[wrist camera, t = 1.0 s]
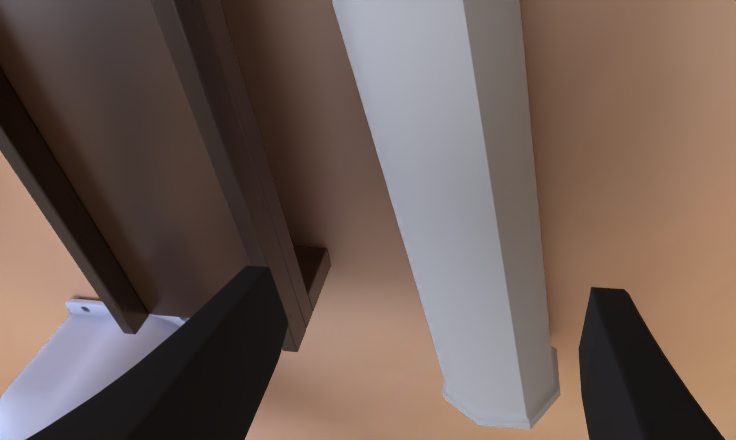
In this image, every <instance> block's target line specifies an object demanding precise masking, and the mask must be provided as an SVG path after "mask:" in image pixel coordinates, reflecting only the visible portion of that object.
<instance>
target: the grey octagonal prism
mask: <svg viewBox="0 0 736 440" xmlns="http://www.w3.org/2000/svg"><path fill="white" fill-rule="evenodd" d="M332 3H333V6H334V10H335V13H336V17H337V20H338V23H339V27H340V30H341V33H342V37H343V40H344V44H345V47H346V50H347V54H348V57H349V60H350V64H351V67H352V70H353V74H354V77H355V81H356V84H357V87H358V91H359V94H360V97H361V101H362V104H363V108H364V111H365V114H366V118H367V121H368V124H369V128H370V131H371V134H372V138H373V141H374V145H375V148H376V151H377V155H378V158H379V161H380V165H381V168H382V172H383V175H384V178H385V182H386V185H387V188H388V192H389V195H390V198H391V202H392V205H393V209H394V212H395V215H396V219H397V222H398V225H399V229H400V232H401V236H402V239H403V242H404V246H405V249H406V252H407V256H408V259H409V262H410V266H411V269H412V273H413V276H414V279H415V283H416V286H417V289H418V293H419V296H420V300H421V303H422V306H423V310H424V313H425V316H426V320H427V323H428V326H429V330H430V333H431V337H432V340H433V343H434V347H435V350H436V353H437V357H438V360H439V364H440V367H441V370H442V374H443V377H444V385H443V396H444V399H446V400H447V401H448V402H449V403H451V404H452V405H453V406H455V407H456V408H457V409H458V410H460V411H461V412H462V413H463V414H465V415H466V416H467V417H469V418H470V419H471V420H472V421H474V422H475V423H476V424H478V425H479V426H486V427H502V428H517V429H531V428H532V427H533V426H534V425H535V424H536V423H537V421H538V420H539V419H540V418H541V417H542V416H543V414H544V413H545V412H546V411H547V410H548V409H549V407H550V406H551V405H552V404H553V403H554V402H555V401H556V399H557V398H558V397H559V396H560V385H559V372H558V359H557V349H556V348H554V347H552V346H551V339H550V328H549V317H548V306H547V295H546V284H545V273H544V262H543V251H542V240H541V229H540V218H539V207H538V196H537V185H536V174H535V163H534V152H533V141H532V130H531V119H530V108H529V97H528V86H527V74H526V63H525V52H524V41H523V30H522V19H521V8H520V0H332Z"/></svg>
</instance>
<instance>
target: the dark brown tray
mask: <svg viewBox="0 0 736 440" xmlns="http://www.w3.org/2000/svg"><path fill="white" fill-rule="evenodd" d="M0 151H1V152H2V154H3V155H4V156H5V158H6V159H7V161H8V162H9V164H10V165H11V167H12V168H13V170H14V171H15V173H16V174H17V176H18V177H19V179H20V180H21V182H22V183H23V185H24V186H25V188H26V189H27V191H28V192H29V194H30V195H31V197H32V198H33V200H34V201H35V202H36V204H37V205H38V207H39V208H40V210H41V211H42V213H43V214H44V216H45V217H46V219H47V220H48V222H49V223H50V225H51V226H52V228H53V229H54V231H55V232H56V234H57V235H58V237H59V238H60V240H61V241H62V243H63V244H64V246H65V247H66V248H67V250H68V251H69V253H70V254H71V256H72V257H73V259H74V260H75V262H76V263H77V265H78V266H79V268H80V269H81V271H82V272H83V274H84V275H85V277H86V278H87V280H88V281H89V283H90V284H91V286H92V287H93V289H94V290H95V292H96V293H97V294H98V296H99V297H100V299H101V300H102V302H103V303H104V305H105V306H106V308H107V309H108V311H109V312H110V314H111V315H112V317H113V318H114V320H115V321H116V323H117V324H118V326H119V327H120V329H121V330H122V332H123V333H125V334H133V335H135V334H137V332H138V331H139V330H140V328H141V327H142V325H143V324H144V322H145V321H146V320H147V318H148V317H149V314H150V315H161V316H172V317H182V318H191V317H192V316H193V315H194V314H195V313H196V312H197V311H198V310H199V309H200V308H201V307H203V306H204V305H205V304H206V303H207V302H208V301H209V300H210V299H211V298H212V297H213V296H214V295H215V294H216V293H218V292H219V291H220V290H221V289H222V288H223V287H224V286H225V285H226V284H227V283H228V282H229V281H230V280H231V279H232V278H233V277H235V276H236V275H237V274H238V273H239V272H240V271H241V270H242V269H243V268H244V267H246V266H263V267H270V270H271V273H272V275H273V278H274V281H275V284H276V287H277V290H278V293H279V295H280V298H281V301H282V304H283V307H284V310H285V313H286V315H287V318H288V321H289V324H288V328H287V331H286V335H285V339H284V343H283V346H282V350H283V351H291V352H298V350H299V347H300V345H301V342H302V339H303V337H304V334H305V332H306V328H307V326H308V323H309V321H310V318H311V316H312V311H314V308H315V305H316V303H317V300H318V298H319V295H320V293H321V290H322V287H323V285H324V282H325V280H326V277H327V274H328V272H329V269H330V267H331V265H330V261H329V257H328V253H327V249H323V248H304V247H293V245H292V242H291V238H290V235H289V232H288V228H287V225H286V222H285V218H284V215H283V212H282V208H281V205H280V202H279V198H278V195H277V192H276V188H275V185H274V181H273V178H272V175H271V171H270V168H269V165H268V161H267V158H266V155H265V151H264V148H263V145H262V141H261V138H260V135H259V131H258V128H257V125H256V121H255V118H254V115H253V111H252V108H251V105H250V101H249V98H248V94H247V91H246V88H245V84H244V81H243V78H242V74H241V71H240V68H239V64H238V61H237V58H236V54H235V51H234V48H233V44H232V41H231V38H230V34H229V31H228V28H227V24H226V21H225V18H224V14H223V11H222V8H221V4H220V1H219V0H0Z"/></svg>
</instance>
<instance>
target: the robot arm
mask: <svg viewBox="0 0 736 440" xmlns="http://www.w3.org/2000/svg"><path fill="white" fill-rule="evenodd" d="M65 305H66V307H67V309H68V310H69V311H70V313H71V314H70V315H69V317H68V318H67V319H66V320H65V321H64V322H63V324H62V325H61V326H60V327H59V328H58V329H57V331H56V332H55V333H54V334H53V335H52V336H51V338H50V339H49V340H48V341H47V342H46V343H45V345H44V346H43V347H42V348H41V349H40V351H39V352H38V353H37V354H36V355H35V356H34V358H33V359H32V360H31V361H30V362H29V363H28V365H27V366H26V367H25V368H24V369H23V370H22V372H21V373H20V374H19V375H18V376H17V377H16V379H15V380H14V381H13V382H12V383H11V384H10V386H9V387H8V388H7V390H6V391H5V392H4V394H3V395H2V397H1V399H0V440H245V437H246V435H247V433H248V430H249V428H250V426H251V423H252V421H253V419H254V416H255V414H256V412H257V410H258V407H259V405H260V403H261V400H262V398H263V396H264V393H265V391H266V389H267V386H268V384H269V382H270V379H271V377H272V374H273V372H274V370H275V367H276V365H277V362H278V359H279V356H280V353H281V349H282V346H283V343H284V339H285V335H286V331H287V328H288V324H289V321H288V318H287V315H286V313H285V310H284V307H283V304H282V301H281V298H280V295H279V293H278V290H277V287H276V284H275V281H274V278H273V275H272V273H271V270H270V267H263V266H246V267H244V268H243V269H242V270H241V271H240V272H239V273H238V274H237V275H236V276H235V277H233V278H232V279H231V280H230V281H229V282H228V283H227V284H226V285H225V286H224V287H223V288H222V289H221V290H220V291H219V292H218V293H216V294H215V295H214V296H213V297H212V298H211V299H210V300H209V301H208V302H207V303H206V304H205V305H204V306H203V307H201V308H200V309H199V310H198V311H197V312H196V313H195V314H194V315H193V316H192V317H191V318H182V317H172V316H161V315H150V314H149V317H148V318H147V320H146V321H145V322H144V324H143V325H142V327H141V328H140V330H139V331H138V332H137V334H135V335H133V334H125V333H123V332H122V330H121V329H120V327H119V326H118V324H117V323H116V321H115V320H114V318H113V317H112V315H111V314H110V312H109V311H108V309H107V308H106V306H105V305H104V303H103V302H102V301H96V300H85V299H69V300H68V301H67V302H66V304H65ZM579 363H580V379H581V393H582V400H583V406H584V412H585V417H586V423H587V429H588V434H589V440H725V439H724V437H723V436H722V435H721V434H720V432H719V431H718V430H717V428H716V427H715V426H714V424H713V423H712V422H711V420H710V419H709V418H708V416H707V415H706V414H705V412H704V411H703V410H702V408H701V407H700V406H699V404H698V403H697V401H696V400H695V399H694V397H693V396H692V395H691V393H690V392H689V390H688V389H687V387H686V386H685V384H684V383H683V381H682V380H681V379H680V377H679V376H678V374H677V373H676V371H675V370H674V368H673V367H672V365H671V364H670V362H669V361H668V359H667V358H666V356H665V355H664V353H663V352H662V350H661V348H660V347H659V345H658V344H657V342H656V340H655V339H654V337H653V336H652V334H651V332H650V331H649V329H648V327H647V326H646V324H645V322H644V321H643V319H642V317H641V315H640V314H639V312H638V310H637V308H636V306H635V305H634V303H633V301H632V299H631V297H630V295H629V294H628V293H627V292H626V291H625V290H624V289H611V288H596V287H591V292H590V297H589V302H588V307H587V311H586V316H585V321H584V326H583V331H582V336H581V340H580V345H579Z"/></svg>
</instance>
